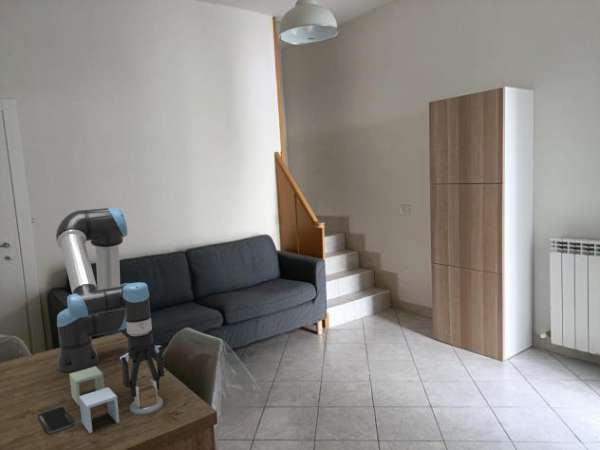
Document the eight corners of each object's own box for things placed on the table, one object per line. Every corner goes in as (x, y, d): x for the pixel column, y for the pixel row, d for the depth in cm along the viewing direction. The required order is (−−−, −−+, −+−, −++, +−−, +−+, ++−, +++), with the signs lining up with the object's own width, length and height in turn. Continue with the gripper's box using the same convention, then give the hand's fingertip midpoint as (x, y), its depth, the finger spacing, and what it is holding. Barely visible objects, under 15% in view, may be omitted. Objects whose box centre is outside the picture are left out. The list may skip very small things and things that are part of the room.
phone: (46, 433, 135) (37, 414, 147) (47, 436, 135) (37, 417, 147) (76, 423, 140) (64, 405, 152) (76, 426, 140) (64, 408, 152)
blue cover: (81, 422, 142) (78, 396, 141) (110, 412, 147) (108, 387, 146) (89, 433, 135) (86, 406, 134) (119, 422, 141) (116, 396, 140)
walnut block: (136, 403, 149) (134, 388, 149) (151, 398, 152) (149, 383, 152) (141, 409, 145) (140, 393, 145) (157, 403, 148) (155, 388, 148)
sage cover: (71, 396, 159) (69, 373, 158) (98, 388, 165) (95, 366, 164) (78, 405, 153) (75, 381, 152) (105, 396, 158) (103, 373, 157)
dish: (126, 406, 150) (125, 403, 150) (155, 396, 156) (155, 393, 156) (137, 418, 142) (136, 414, 142) (168, 406, 148) (167, 403, 148)
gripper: (114, 342, 138) (121, 417, 140) (171, 327, 149) (177, 396, 152) (106, 336, 144) (114, 408, 146) (162, 322, 155) (168, 389, 157)
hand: (146, 402), depth 149 cm, fingers closed on walnut block, 5 cm apart
